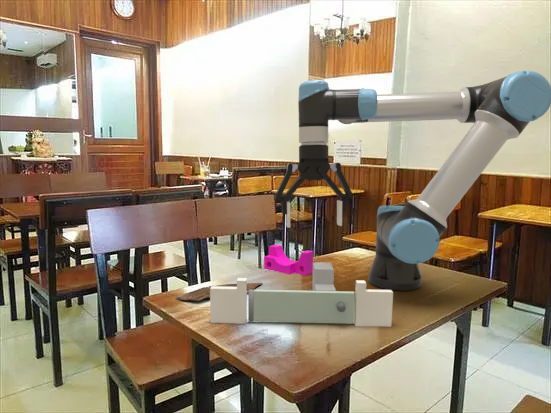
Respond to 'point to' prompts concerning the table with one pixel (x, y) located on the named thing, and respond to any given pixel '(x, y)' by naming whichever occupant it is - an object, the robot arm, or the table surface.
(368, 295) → the wall frame
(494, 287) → the table surface
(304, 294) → the spring door
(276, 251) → the magenta saddle bracket
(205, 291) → the wooden fragment
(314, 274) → the white stepped block
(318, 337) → the table surface
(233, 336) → the table surface
